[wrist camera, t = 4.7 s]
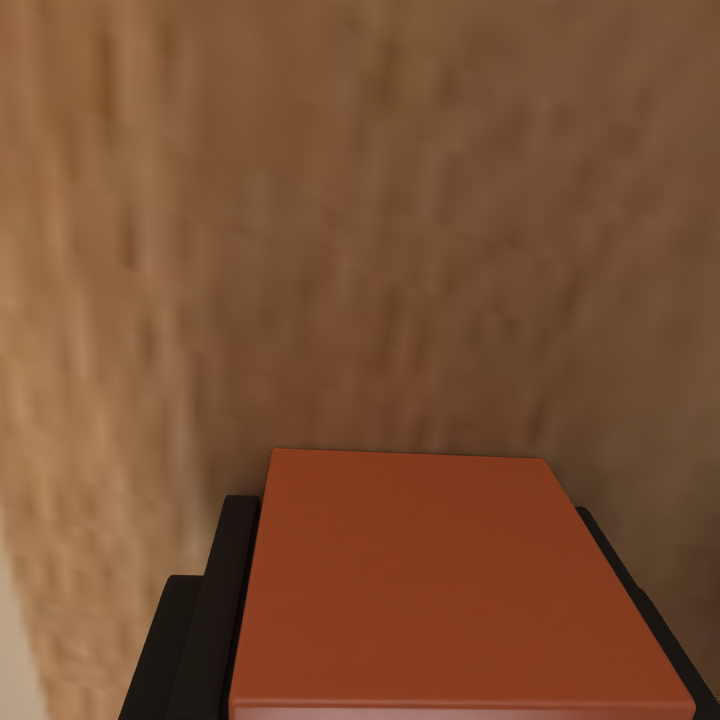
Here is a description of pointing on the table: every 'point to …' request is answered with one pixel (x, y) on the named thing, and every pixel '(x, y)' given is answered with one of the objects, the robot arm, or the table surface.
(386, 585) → the block
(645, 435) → the table surface
